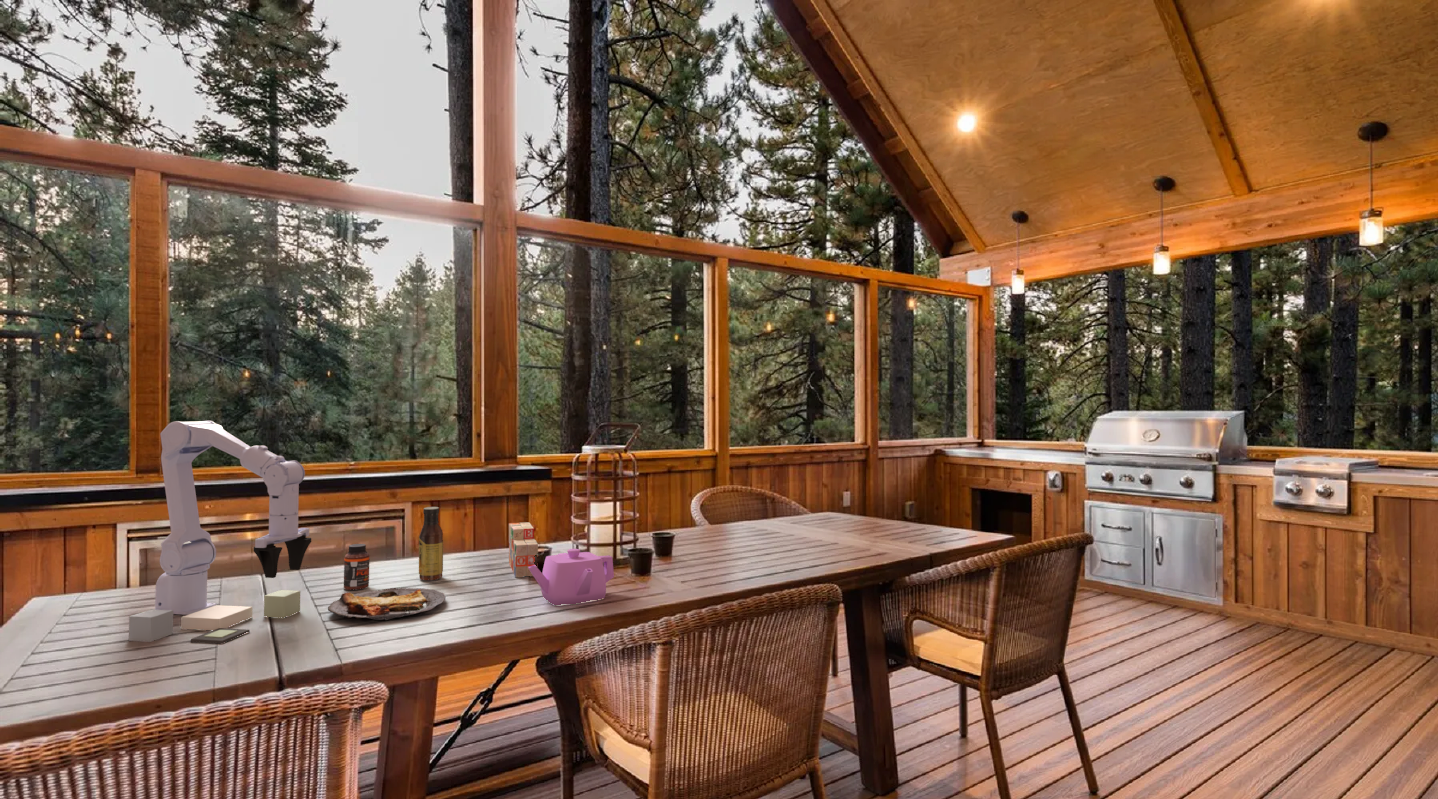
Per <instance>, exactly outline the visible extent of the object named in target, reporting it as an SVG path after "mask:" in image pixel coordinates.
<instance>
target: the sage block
mask: <svg viewBox="0 0 1438 799" xmlns="http://www.w3.org/2000/svg"><path fill="white" fill-rule="evenodd" d="M299 611H300V612H301V590H292V589H291V590H290V589H289V590H288V589H279V590H277V591H273V592H271V593H268V594H265V595H264V596H263V617H264V616H267V617H278V618H277V619H283V618H284V617H286V616H289V617H291V616H290V615H292V614H294V613H296V612H299ZM300 612H299V613H300ZM294 615H295V614H294ZM292 616H293V615H292ZM279 617H280V618H279ZM281 617H282V618H281ZM284 619H285V618H284Z"/></svg>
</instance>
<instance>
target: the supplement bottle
mask: <svg viewBox="0 0 1438 799" xmlns="http://www.w3.org/2000/svg"><path fill="white" fill-rule="evenodd" d="M366 549H367V545H366V544H365V543H354V544H349V545H348V552H347V553H346V554H345V556H344V559H343V560H344V561H343V562H344V563H343V589H344V590H346V591H359V590H361V591H362V590H365V589H367V588H368V587H369V584H370V561H371V560H370V556H371V555H370V553H369V552H368V551H367V550H366Z"/></svg>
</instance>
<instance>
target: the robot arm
mask: <svg viewBox="0 0 1438 799" xmlns="http://www.w3.org/2000/svg"><path fill="white" fill-rule="evenodd" d="M159 435H160V442H161V449H162V450H161V456H160V460H161V468H162V475H163V483H164V490H165V496H166V497H165V498H166V504H167V512H168V518H169V526H170V533H169V534H168V535H167V537H165V539H164V540H163V541H162V542H161V544H160V547H161V551H160V552H161V553H160V555H159V556H160V557H159V565H160V567H161V569H162V570H163V572H164V573H162V574H161V575H159V577H158V579H157V581H156V583H155V596H154V597H155V598H154V599H155V603H154V604H155V605H154V609H156V610H173V615H180V616H181V615H183V616H186V615H189V614H192V613H195V612H198V611H201V610H204V609H206V608H209V607H212V606H215V605H217V603H215V602H208V570H209V569H210V568H211V564H212V563H213V562H214V561H215V560H216V556H217V548H216V546H215V544H214V543H213V541H212V537H211V534H210V533H209V532H208V531H206V530H205V529H203V528H202V527H201V523H200V516H199V507H198V500H197V495H196V494H197V493H196V488H195V487H196V486H195V478H194V473H193V466H192V462H193V461H194V460H195V459H196V458H197V457H198V456H199V455H200V454H202V453H203V452H205V451H207V450H208V449H210V448H212V447H214V448H216V449H218V450H220V451H222V452H224V453H226V454H228V455H230V456H232V457H235V458H237V459H239V462H240V465H241V467H242V468H244V469H246V470H247V471H249V472H252V473H253V474H255V475H257V476H259V477H260V478H262V480H263V482H264V484H265V485H266V488H267V493H268V495H269V497H268V498H269V499H268V501H269V503H268V509H269V510H268V514H269V515H268V534H265V535H262V536H261V537H259V538H255V541H254V542H255V543H254V546H253V552H254V553H255V555H256V556H257V558H258V560H259V561H260V564H261V566H262V571H263V574H264V578H265V579H266V578H267V579H274V578H276V577H277V574H278V573H277V572H278V564H279V559H280V555H281V554H282V550H283V547H279V546H277V544H281V543H284V544H285V547H286V550H287V554H288V566H289V567H288V568H289V570H290V571H299V570H301V567H302V563H303V560H304V557H305V554H306V552H307V550H308V548H309V546H310V544H311V543H312V538H311V537H310V528H309V527H300V528H299V494H300V493H299V492H300V491H299V488H300V486H299V484H301V483H302V482H303V481H304V478H305V477H306V471H305V468H304V466H303V465H302V464H301V463H300V462H299V461H298V460H294V459H293V460H286V459H285V457H284V456H283V455H277V454H275V453H273V452H271V451H270V450H268V449H269V448H268V446H266V445H264V444H263V445H253V446H250V445H249V444H246V443H245V442H244V441H242V440H241V439H239V438H238V437H236V436H234V435H232V433H229V432H228V431H226V430H225V429H224V428H223V426H222V424H221V425H220V424H218V423H216V422H214V421H213V420H202V421H200V420H199V421H179V420H176V421H172V422H170V423H168V424H167V425H166V426H165V428H164V429H163V430H162V431H161V432H160V434H159Z"/></svg>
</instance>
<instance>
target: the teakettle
mask: <svg viewBox="0 0 1438 799" xmlns="http://www.w3.org/2000/svg"><path fill="white" fill-rule="evenodd" d="M613 562H614V560H613V556H611V555H608V554H607V555H597V554H595V553H592V552H590V551H583V552H582V551H581V549H579V548H569V549H567V552H563V553H557V554H552V555H546V556H545V559H544V562H543V563H544V564H543V568H542V572H541V570H540V569H539V568H538V565H537V566H536V565H533V566H530V567H528V568H529V570H530V572H531V573H532V575H533V576H532V577H533V578H534V580H535V581H536V582H537V584H538V586H539V587H540V591H541V595H542V598H543V597H544V598H545V599H546V600H548V601H549V602H550V603H552V604H554V605H561V604H576V603H581V602H586V601H590V600H598V599H602V598H604V599H605V597H606V594H607V593H606V592H607V583H608V582H609V581H610V580H612V579H613V578H614V577H615V575H614V574H615V573H614V572H615V571H614V563H613ZM544 598H543V599H544ZM545 599H544V600H545ZM549 602H548V603H549ZM550 603H549V604H550ZM552 604H551V605H552Z"/></svg>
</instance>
